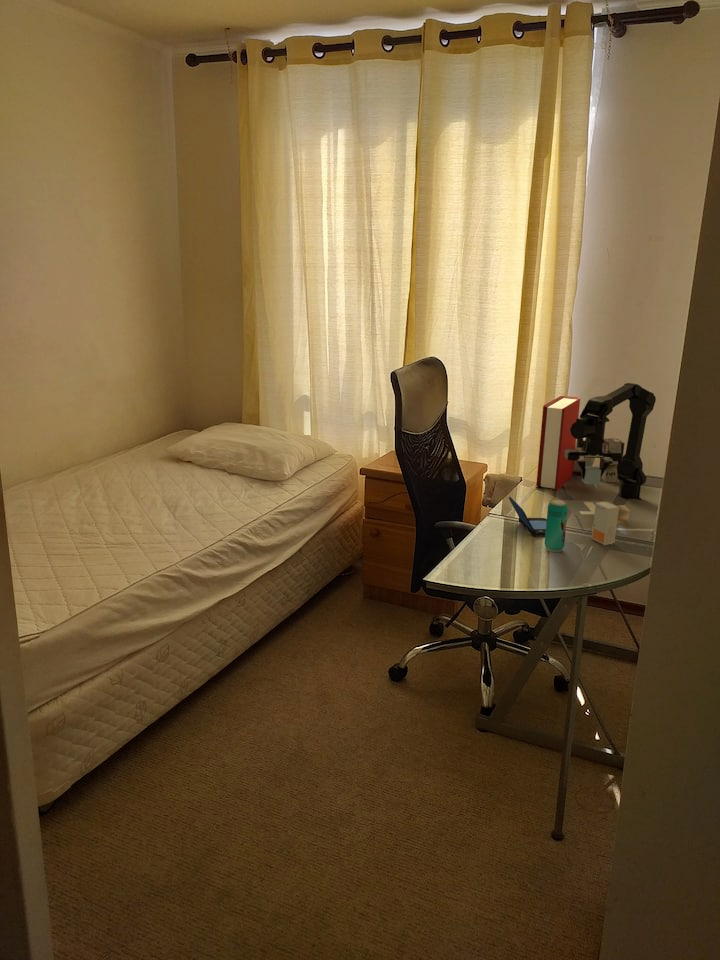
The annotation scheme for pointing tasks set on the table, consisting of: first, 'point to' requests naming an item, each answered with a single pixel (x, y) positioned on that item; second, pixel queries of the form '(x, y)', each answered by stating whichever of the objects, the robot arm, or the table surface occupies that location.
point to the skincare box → (605, 523)
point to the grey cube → (592, 475)
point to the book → (557, 441)
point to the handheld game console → (530, 521)
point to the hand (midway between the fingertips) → (590, 479)
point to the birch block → (623, 514)
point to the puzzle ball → (588, 460)
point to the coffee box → (611, 470)
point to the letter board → (583, 507)
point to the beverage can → (556, 525)
